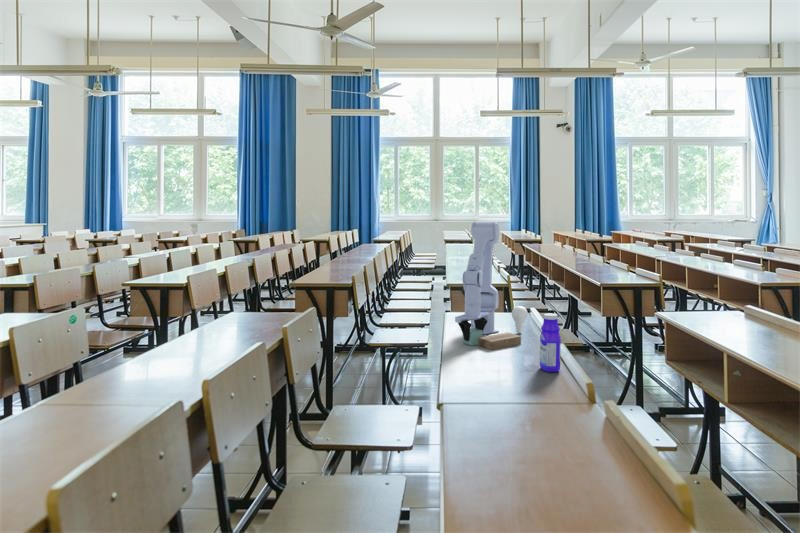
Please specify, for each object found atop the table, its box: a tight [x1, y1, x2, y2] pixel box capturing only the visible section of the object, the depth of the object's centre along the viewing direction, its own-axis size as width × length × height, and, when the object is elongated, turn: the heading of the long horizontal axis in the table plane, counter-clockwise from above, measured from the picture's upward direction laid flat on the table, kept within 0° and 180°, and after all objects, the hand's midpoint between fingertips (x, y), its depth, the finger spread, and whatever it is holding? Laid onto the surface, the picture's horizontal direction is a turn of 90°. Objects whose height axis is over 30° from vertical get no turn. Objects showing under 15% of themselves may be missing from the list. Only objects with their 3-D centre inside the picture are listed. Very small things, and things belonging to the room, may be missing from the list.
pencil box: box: [478, 332, 522, 351], centre depth 201 cm, size 7×14×3 cm, turn 121°
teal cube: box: [462, 327, 483, 346], centre depth 203 cm, size 5×5×5 cm
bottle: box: [539, 312, 562, 373], centre depth 170 cm, size 7×6×17 cm
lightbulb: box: [511, 305, 529, 334], centre depth 217 cm, size 6×6×11 cm
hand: (472, 339), depth 203 cm, fingers closed on teal cube, 5 cm apart
